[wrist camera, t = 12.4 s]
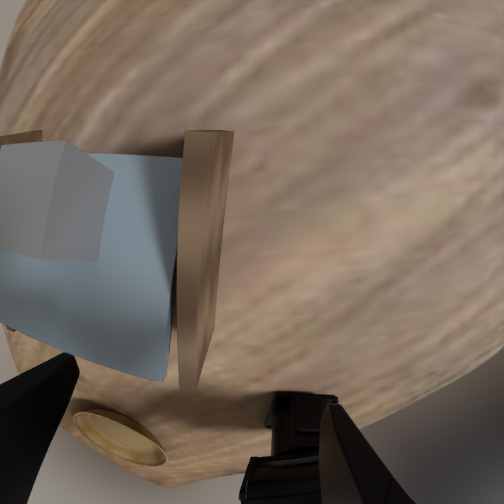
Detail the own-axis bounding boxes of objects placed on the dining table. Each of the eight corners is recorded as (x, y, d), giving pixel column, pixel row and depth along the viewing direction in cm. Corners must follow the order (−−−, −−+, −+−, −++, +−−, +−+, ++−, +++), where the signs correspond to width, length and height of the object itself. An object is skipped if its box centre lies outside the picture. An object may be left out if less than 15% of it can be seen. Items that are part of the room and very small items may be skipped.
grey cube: (98, 261, 14) (40, 260, 9) (37, 247, 14) (-20, 243, 9) (114, 172, 15) (66, 140, 10) (52, 169, 15) (1, 145, 10)
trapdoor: (182, 355, 19) (161, 382, 14) (34, 311, 19) (-5, 319, 14) (207, 183, 19) (193, 158, 14) (53, 172, 20) (16, 155, 15)
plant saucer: (174, 425, 31) (169, 441, 28) (169, 463, 37) (165, 475, 34) (72, 383, 30) (63, 397, 28) (88, 431, 36) (82, 442, 34)
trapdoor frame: (214, 328, 23) (195, 393, 17) (49, 288, 23) (7, 328, 17) (234, 131, 17) (209, 132, 11) (34, 130, 17) (-28, 142, 11)
